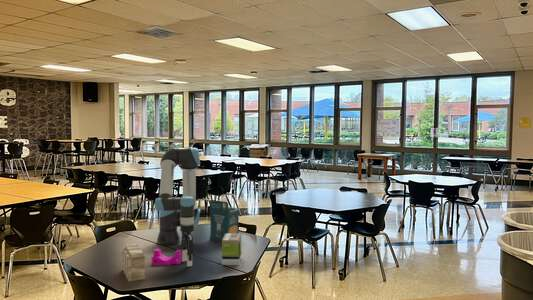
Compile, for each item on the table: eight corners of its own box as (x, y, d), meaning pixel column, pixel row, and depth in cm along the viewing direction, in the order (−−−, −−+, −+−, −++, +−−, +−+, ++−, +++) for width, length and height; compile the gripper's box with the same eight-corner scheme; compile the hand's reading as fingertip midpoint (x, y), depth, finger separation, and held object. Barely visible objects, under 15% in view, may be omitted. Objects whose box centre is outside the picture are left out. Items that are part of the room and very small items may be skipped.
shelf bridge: (122, 270, 217) (122, 245, 216) (138, 267, 221) (137, 243, 220) (128, 281, 200) (128, 255, 200) (144, 279, 204) (144, 252, 204)
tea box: (225, 257, 241) (225, 232, 240) (241, 257, 241) (241, 232, 240) (221, 265, 226) (221, 239, 225) (239, 265, 226) (239, 239, 225)
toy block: (151, 265, 226) (151, 251, 226) (156, 261, 232) (156, 248, 232) (177, 266, 224) (177, 253, 224) (181, 262, 231) (181, 249, 230)
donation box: (209, 239, 278) (209, 199, 277) (225, 234, 291) (225, 196, 290) (227, 243, 269) (227, 202, 268) (242, 238, 282) (242, 198, 281)
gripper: (175, 220, 235) (175, 259, 236) (186, 228, 216) (186, 270, 217) (188, 219, 238) (188, 257, 239) (199, 227, 219) (199, 268, 220)
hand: (187, 263), depth 228 cm, fingers open, 9 cm apart
